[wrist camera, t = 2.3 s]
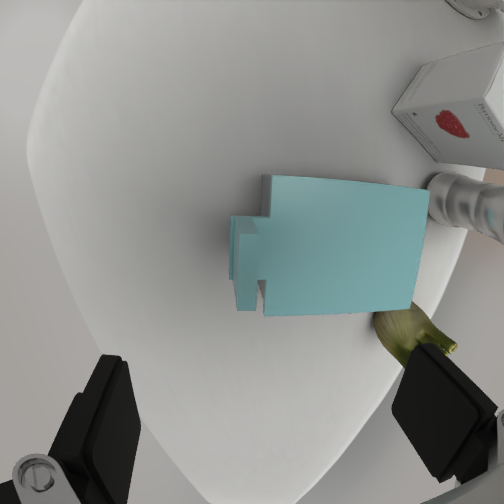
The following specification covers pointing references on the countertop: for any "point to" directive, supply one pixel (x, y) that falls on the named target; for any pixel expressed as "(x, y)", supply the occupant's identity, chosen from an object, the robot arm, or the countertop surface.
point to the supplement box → (459, 108)
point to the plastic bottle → (467, 204)
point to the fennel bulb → (409, 332)
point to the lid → (329, 247)
